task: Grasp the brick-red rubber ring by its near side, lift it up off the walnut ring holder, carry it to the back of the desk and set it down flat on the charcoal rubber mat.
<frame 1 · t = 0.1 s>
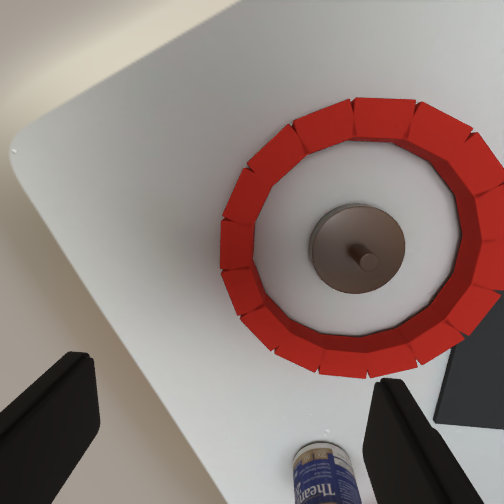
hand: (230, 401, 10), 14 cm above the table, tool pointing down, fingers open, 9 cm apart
ring: (353, 247, 22), on the table, touching mat
ring holder: (352, 246, 22), on the table
pill bottle: (320, 460, 28), on the table
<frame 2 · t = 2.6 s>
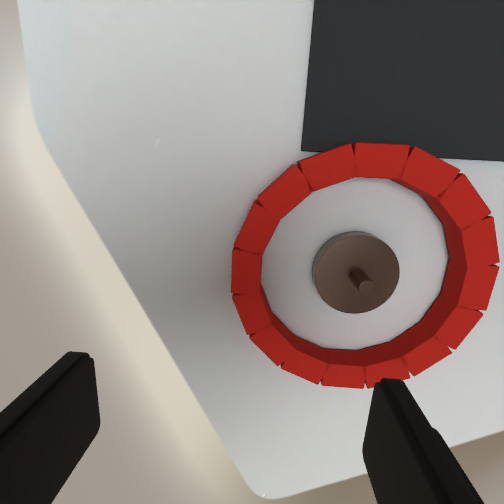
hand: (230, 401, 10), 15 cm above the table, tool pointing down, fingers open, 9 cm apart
ring: (352, 270, 24), on the table, touching mat
ring holder: (351, 269, 24), on the table
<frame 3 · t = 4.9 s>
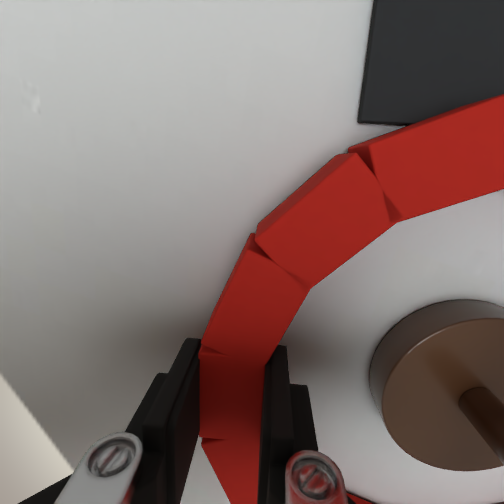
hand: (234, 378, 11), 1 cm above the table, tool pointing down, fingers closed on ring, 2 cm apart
ring: (454, 376, 12), on the table, touching gripper, mat
ring holder: (451, 373, 12), on the table
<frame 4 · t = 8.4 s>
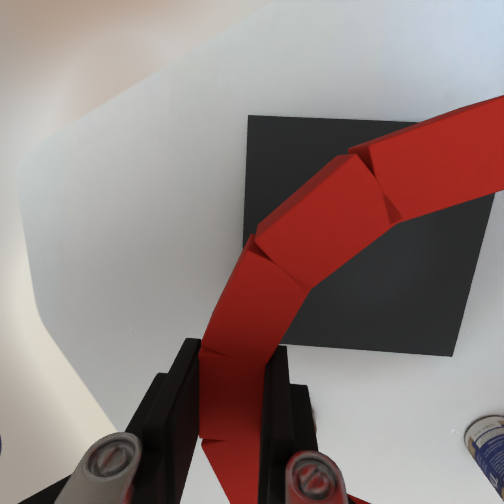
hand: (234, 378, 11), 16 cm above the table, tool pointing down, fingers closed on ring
ring: (454, 377, 12), point 15 cm above the table, touching gripper
mat: (357, 245, 26), on the table
pill bottle: (489, 434, 31), on the table
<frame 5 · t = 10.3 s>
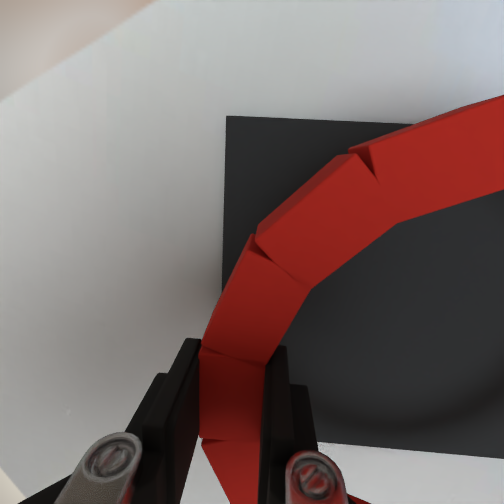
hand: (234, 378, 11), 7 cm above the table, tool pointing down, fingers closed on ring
ring: (454, 377, 12), point 6 cm above the table, touching gripper
mat: (390, 307, 18), on the table
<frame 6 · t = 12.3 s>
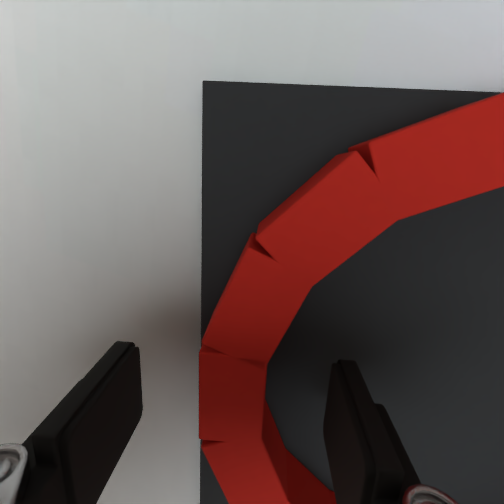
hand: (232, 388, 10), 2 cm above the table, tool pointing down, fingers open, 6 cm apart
ring: (456, 378, 12), resting on mat
mat: (450, 371, 12), on the table
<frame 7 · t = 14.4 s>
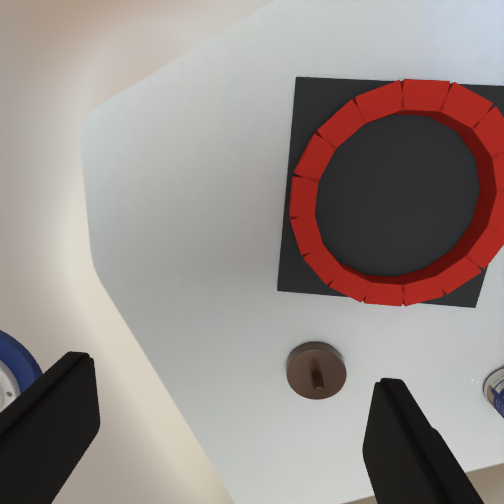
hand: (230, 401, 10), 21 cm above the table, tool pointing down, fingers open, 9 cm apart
ring: (393, 201, 28), resting on mat
mat: (391, 201, 28), on the table
ring holder: (314, 366, 34), on the table
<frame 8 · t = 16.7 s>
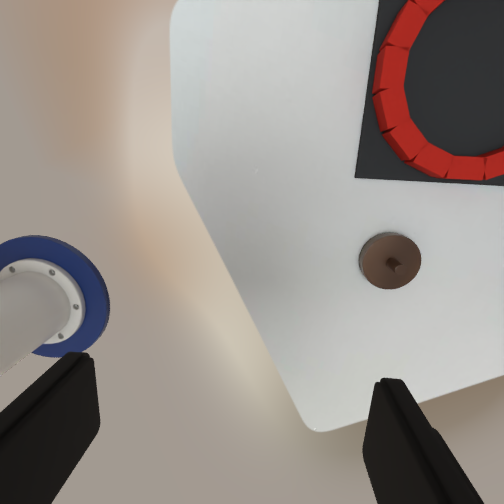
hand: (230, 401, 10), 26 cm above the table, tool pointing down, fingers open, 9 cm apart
ring: (474, 77, 29), resting on mat
mat: (471, 79, 30), on the table
ring holder: (386, 259, 35), on the table
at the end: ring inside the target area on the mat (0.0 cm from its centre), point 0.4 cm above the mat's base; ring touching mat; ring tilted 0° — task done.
